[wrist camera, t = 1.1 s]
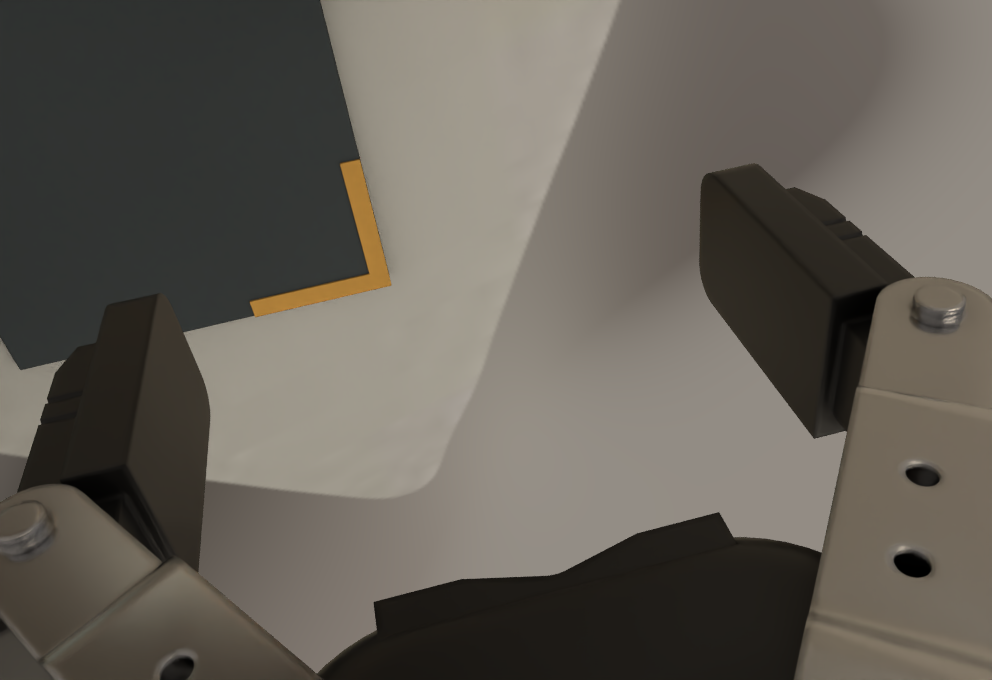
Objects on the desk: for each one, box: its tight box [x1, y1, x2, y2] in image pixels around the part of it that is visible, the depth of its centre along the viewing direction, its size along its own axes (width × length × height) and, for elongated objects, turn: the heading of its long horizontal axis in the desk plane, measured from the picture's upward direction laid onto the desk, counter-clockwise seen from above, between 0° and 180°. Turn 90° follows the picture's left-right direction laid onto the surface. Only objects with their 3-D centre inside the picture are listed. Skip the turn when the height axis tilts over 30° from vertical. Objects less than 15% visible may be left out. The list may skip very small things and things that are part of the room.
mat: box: [0, 0, 391, 370], centre depth 31 cm, size 20×16×1 cm
